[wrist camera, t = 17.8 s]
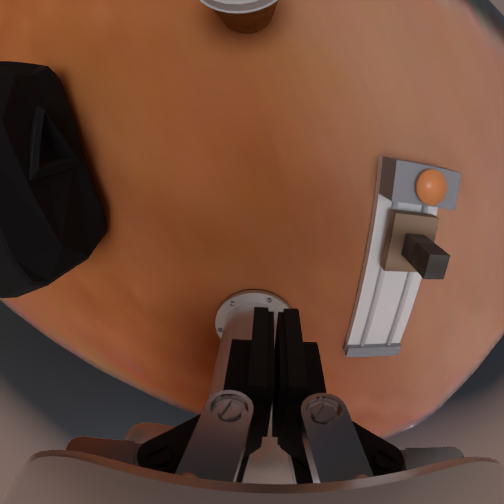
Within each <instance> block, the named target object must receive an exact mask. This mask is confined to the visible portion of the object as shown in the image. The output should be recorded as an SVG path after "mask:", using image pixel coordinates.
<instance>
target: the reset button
mask: <svg viewBox="0 0 504 504" xmlns="http://www.w3.org/2000/svg"><path fill="white" fill-rule="evenodd" d="M415 191H416V195H417V197H418V198H419V200H420V201H422V202H423V203H425V204H427V205H430V206H434V205H437V204H439V203H440V202H441V201H442V200H443V199H444V197H445V195H446V191H447V183H446V179H445V177H444V176H443V174H442V173H441V172H439V171H437V170H434V169H426V170H424V171H422V172H421V173H420V174H419V175H418V177H417V179H416V183H415Z"/></svg>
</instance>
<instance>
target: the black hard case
mask: <svg viewBox="0 0 504 504" xmlns="http://www.w3.org/2000/svg"><path fill="white" fill-rule="evenodd" d="M106 232H107V224H106V216H105V214H104V211H103V208H102V206H101V203H100V201H99V198H98V195H97V192H96V190H95V187H94V184H93V181H92V178H91V175H90V172H89V169H88V166H87V163H86V160H85V157H84V154H83V151H82V148H81V144H80V141H79V137H78V134H77V130H76V127H75V123H74V119H73V115H72V112H71V110H70V107H69V104H68V102H67V99H66V96H65V93H64V90H63V88H62V85H61V82H60V80H59V79H58V77H57V76H56V74H55V73H54V72H53V71H52V70H51V69H50V68H49V67H48V66H43V65H37V64H29V63H21V62H9V61H0V297H1V298H12V297H19V296H21V295H24V294H26V293H29V292H32V291H34V290H37V289H39V288H42V287H45V286H47V285H49V284H50V283H52V282H53V281H55V280H56V279H58V278H59V277H61V276H62V275H64V274H65V273H67V272H68V271H70V270H71V269H73V268H74V267H76V266H77V265H79V264H80V263H82V262H84V261H85V260H87V259H88V258H89V256H90V255H91V253H92V252H93V250H94V249H95V248H96V246H97V245H98V243H99V242H100V241H101V239H102V238H103V236H104V235H105V234H106Z"/></svg>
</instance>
